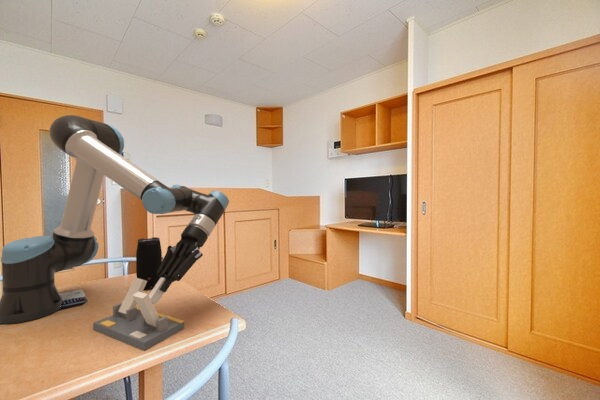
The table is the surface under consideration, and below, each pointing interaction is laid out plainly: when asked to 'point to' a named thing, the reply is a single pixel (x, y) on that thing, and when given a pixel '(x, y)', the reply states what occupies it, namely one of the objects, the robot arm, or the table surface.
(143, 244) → the portable speaker
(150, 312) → the paddle
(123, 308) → the paddle
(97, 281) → the table surface
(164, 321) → the switch unit
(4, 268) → the robot arm
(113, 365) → the table surface
